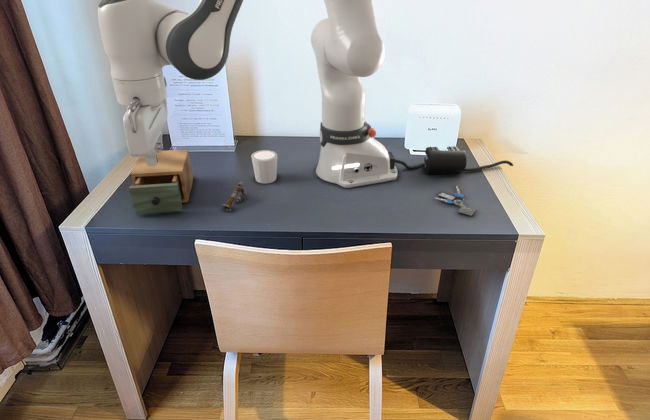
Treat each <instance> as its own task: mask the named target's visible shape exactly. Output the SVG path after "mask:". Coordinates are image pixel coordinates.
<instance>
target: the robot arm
mask: <svg viewBox="0 0 650 420" xmlns="http://www.w3.org/2000/svg"><path fill="white" fill-rule="evenodd" d="M243 2H244V0H199V1H198V4H197V6H196V7H195V8H194V9H193V10H192V11H191V12H190V13H188V12H186V11H183V10H179V9H175V8H172V7H168V6H166V5H164V4H161V3H160V2H157V1H154V0H101V1H100V2H99V4H98V6H97V21H98V22H97V23H98V27H99V33H100V38H101V42H102V47H103V51H104V53H105V55H106V57H107V59H108V61H109V64H110V79H111V82H112V87H113V90H114V93H115V97H116V102H117V103H118V104H119V105H122V106H123V107H124V106H125V107H126V111H125V113H124V115H123V117H122V121H123V130H124V135H125V142H126V145H127V149H128V152H129V154H130V155H131V156H132V157H139V156H144V157H145V158H146V161H147V165H148V166H156V165H157V163H158V159H157V155H155V153H161V152H162V151H164V144H163V129H164V127H165V124H166V123H167V120H168V117H169V116H168V113H169V111H168V102H167V98H168V94H167V93H168V92H167V87H168V83H167V78H166V76H164V72H163V68H164V67H165V66H172V67H174V68H175V69H176V70H177V71H178V72H179V73H180V74H182V76H184V77H186V78H188V79H190V80H196V81H204V80H208V79H211V78H213V77H215V76H217V74H219V73H220V72H221V71H222V70H223V68H224V67H225V65H226V63H227V61H228V57H229V54H230V53H229V52H230V44H231V36H232V30H233V28H234V24H235V21H236V19H237V17H238V14H239V12H240V9H241V8H242V5H243ZM323 3H324V5H325V9H326V13H327V17H328V18H323V19H321V20H320V21H318V22H317V23H316V24H315V25H314V27H313V29H312V31H311V34H310V44H311V47H312V50H313V52H314V56H315V61H316V68H317V73H318V74H317V75H318V79H319V85H320V92H321V122H320V124H319V125H320V126H319V142H320V151H319V157H318V162H317V166H316V169H315V173H316V176H318V178H320V179H321V180H323V181H325V182H327V183H332V184H336V185H338V186H340V187H342V188H345V189H351V188H355V187H356V188H357V187H361V186H362V187H363V186H368V185H374V184H379V183H385V182H390V181H395V180H396V179H397V178H398V168H397V166H396V165H395V164H399V165H402V166H403V167H404V168H405V169H407V170H416V169H420V168H424V165H426V164H425V162H423V163H419V164H417V165H408V164H407V163H406V162H405V161H403V160H400V159H396V158H395V156H394V154H393V153H392V151H388V150H387V148H386V147H385V145H384V144H382V143H381V142H380V141H378V140H377V139H375V137H376V136H377V131H376V130H375V128H373V127H372V125H370V124H369V123H368V122H367V121H366V120H365V116H366V115H365V114H366V91H365V89H364V87H363V83H362V80H361V78H367V77H370V76H372V75H374V74H375V73H377V71H378V70H379V69H380V68H381V67H382V64H383V63H384V59H385V56H386V55H385V53H386V50H385V44H384V42H383V40H382V38H381V36H380V34H379V31H378V28H377V22H376V17H375V13H374V7H373V0H323ZM505 164H506V165H508V166H509V167H510V166H511V167H514V164H513V162H511V161H510V160H505V159H504V160H500V161H497V162H494V163H491V164H486V165H481V166H476V167H469V168H467V167H466V168H465V170H464V171H463V172H465V173H466V172H475V171H476V172H477V171H480V170H485V169H490V168H491V169H492V168H494V167H497V166H499V165H505Z"/></svg>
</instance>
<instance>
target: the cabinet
mask: <svg viewBox="0 0 650 420" xmlns="http://www.w3.org/2000/svg"><path fill="white" fill-rule="evenodd" d="M155 155H157V159H158V163H157V165H156V166H148V165H147V161H146V158H145V157H144V156H138V159H137V161H136V162H135V165H134V166H133V169H132V171H131V173H130V177H131V181H132V186H135V182H136V180H137V178H138V177H142V176H159V175H175V174H179V176H180V181H181V186H182V191H183V195H182V199H181V202H182V204H183V203H184V204H185V203H189V200H190V196H191V195H190V194H191V191H192V186H193V182H194V173H193V169H192V164H191V163H192V162H191V157H190V151H189V149H187V148H186V149H170V150H167V149H166V150H162V152H161V153H155Z"/></svg>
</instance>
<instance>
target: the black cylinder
mask: <svg viewBox="0 0 650 420" xmlns="http://www.w3.org/2000/svg"><path fill="white" fill-rule="evenodd" d="M424 154H425V155H426V156H425V157H424V158H423V163H425V164H426V165H424V166H423V169H424V171H425V173H426V174H427V175H432V174H438V175H439V174H461V173H462V172H463V173H464V172H465V171H464V170H465V168H467V164H468V163H467V161H468V158H467V153H466V151H465V150H461V149H459V148H458V146H447V147H446V150H441V149H439V147H438V146H427V147H426V148H425V151H424Z"/></svg>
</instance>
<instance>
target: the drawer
mask: <svg viewBox="0 0 650 420" xmlns="http://www.w3.org/2000/svg"><path fill="white" fill-rule="evenodd" d="M128 191H129V193H130V197H131V202H132V204H133V208H134V212H135V214H136V215H139V214H153V213H154V214H155V213H167V212H168V213H169V212H180V211H181V212H182V211H183V208H184V207H183V203H182V202H181V199H182V195H183V191H182V186H181V181H180V176H179V174H175V175H159V176H142V177H138V178H137V180H136V182H135V186H134V185H129V187H128Z"/></svg>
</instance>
